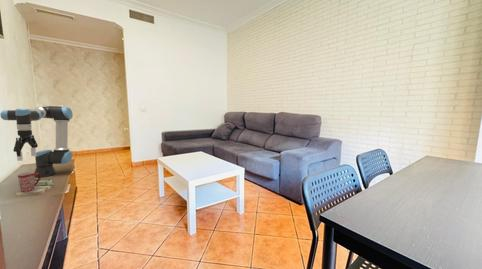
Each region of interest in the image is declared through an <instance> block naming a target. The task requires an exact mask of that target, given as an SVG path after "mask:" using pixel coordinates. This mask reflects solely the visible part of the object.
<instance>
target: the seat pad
mask: <svg viewBox="0 0 482 269" xmlns="http://www.w3.org/2000/svg"><path fill="white" fill-rule="evenodd" d="M40 189H41V188H40V187H35V189H34V190H33V191H29V192H21V190H20V191H19V192H21V193H30V192H34V191H38V190H40Z"/></svg>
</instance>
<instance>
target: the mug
mask: <svg viewBox="0 0 482 269" xmlns="http://www.w3.org/2000/svg"><path fill="white" fill-rule="evenodd" d="M34 173H35V171H33V170H32V171H29V170H28V171H22V172H20V173H17V180H18V184H19V189H20V191H21V192H29V191H33V190H34V189H35V185H36V184H37V183H38V182H39V180H40V181H41V178H42V177H41V175H40V174H39V173H35V174H34ZM36 174H38V175H39V177H37V179H38V180H37V182H36V183H35V184H34V179H35V178H36V177H35V175H36Z"/></svg>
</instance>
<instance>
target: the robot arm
mask: <svg viewBox="0 0 482 269" xmlns="http://www.w3.org/2000/svg"><path fill="white" fill-rule="evenodd" d="M73 115H74V114H73V110H72V109H71V108H70V106H59V105H57V106H56V105H55V106H53V105H49V106H48V105H46V106H40V107H36V108H16V109H12V110H11V109H8V110H7V109H5V110H1V112H0V118H1V119H2V120H3V121H16V130H17V132H16V133H17V136H18V137H16V138H15V144H14V147H13V152H16V159H17V162H19V161H20V162H22V161H24V157H23V151H22V150H23V148H24V146H25V144H26V143H27V144H28V145H29V146H30V156H31V157H34V158H35V171H34V174H35V173H39V174H40V175H41V178H45V177H46V178H47V177H51V176H54V175H56V174H57V171H56V168H55V167H54V165H55V164H56V165H61V164H62V165H64V164H69V163H71V162H72V161H71V160H72V158H73V152H72V150H70V148H68V135H69V134H68V130H69V129H68V125H69V124H68V123H69V122H70V120H71V119H73ZM41 119H52V120H53V121H54V122H55V148H54V149H53V150H52V149H44V150H39V151H36V148H38V146H39V145H38V142H37V140H36V138H35V134H34V135H33V129H32V122H33V121H35V122H37V121H40V120H41ZM34 178H39V175H38V174H36V175H35V177H34Z"/></svg>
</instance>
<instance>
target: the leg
mask: <svg viewBox="0 0 482 269" xmlns="http://www.w3.org/2000/svg"><path fill="white" fill-rule="evenodd" d="M36 182H37V181H34V184H35V183H36ZM52 184H53V180H52V179H47V180H40V181H39V182H38V183H37V184H36V185H35V186H41V185H52Z"/></svg>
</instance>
